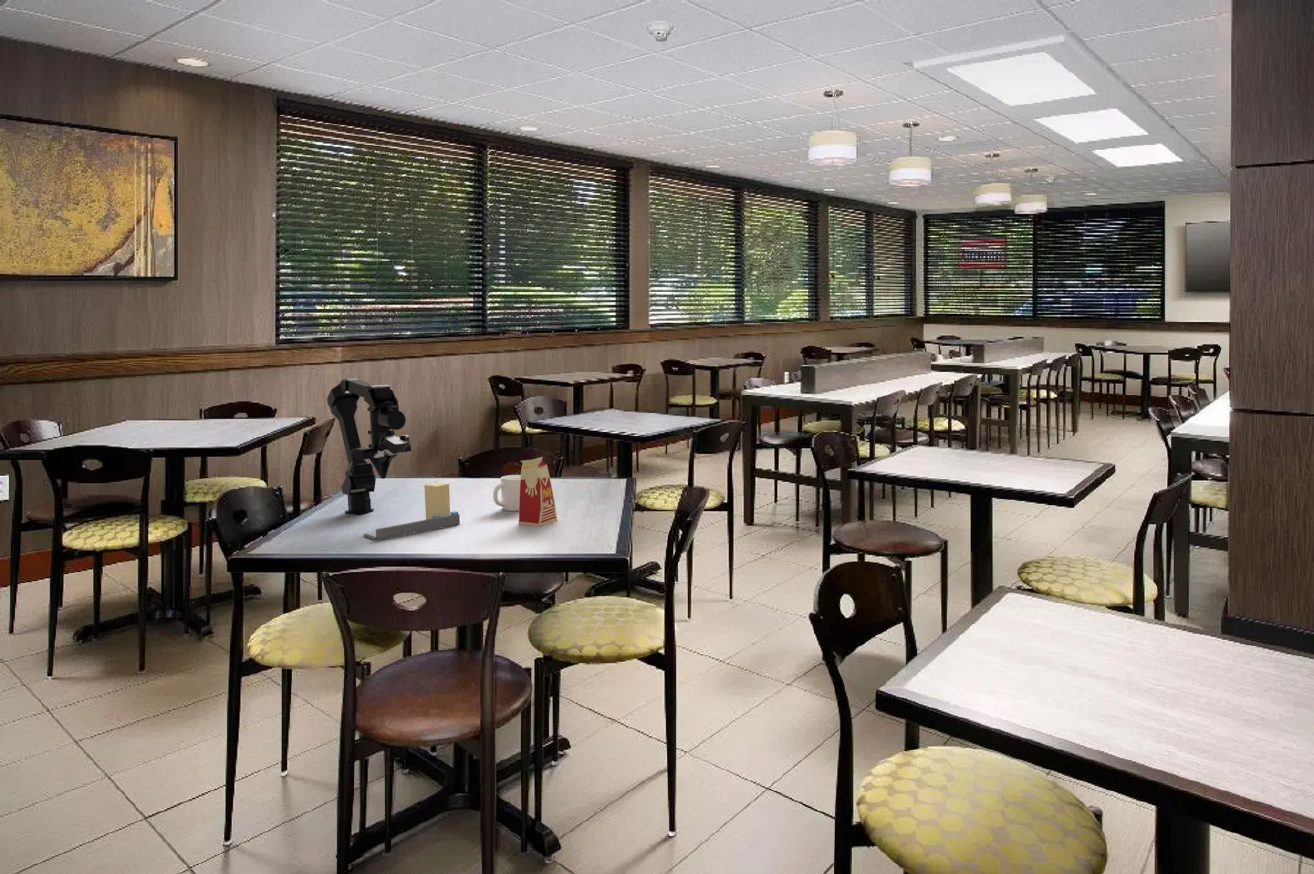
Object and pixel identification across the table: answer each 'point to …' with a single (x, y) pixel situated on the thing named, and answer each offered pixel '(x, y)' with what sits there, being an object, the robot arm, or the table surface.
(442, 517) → the gray bench frame
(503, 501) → the mug
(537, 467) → the milk carton
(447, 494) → the wooden block
